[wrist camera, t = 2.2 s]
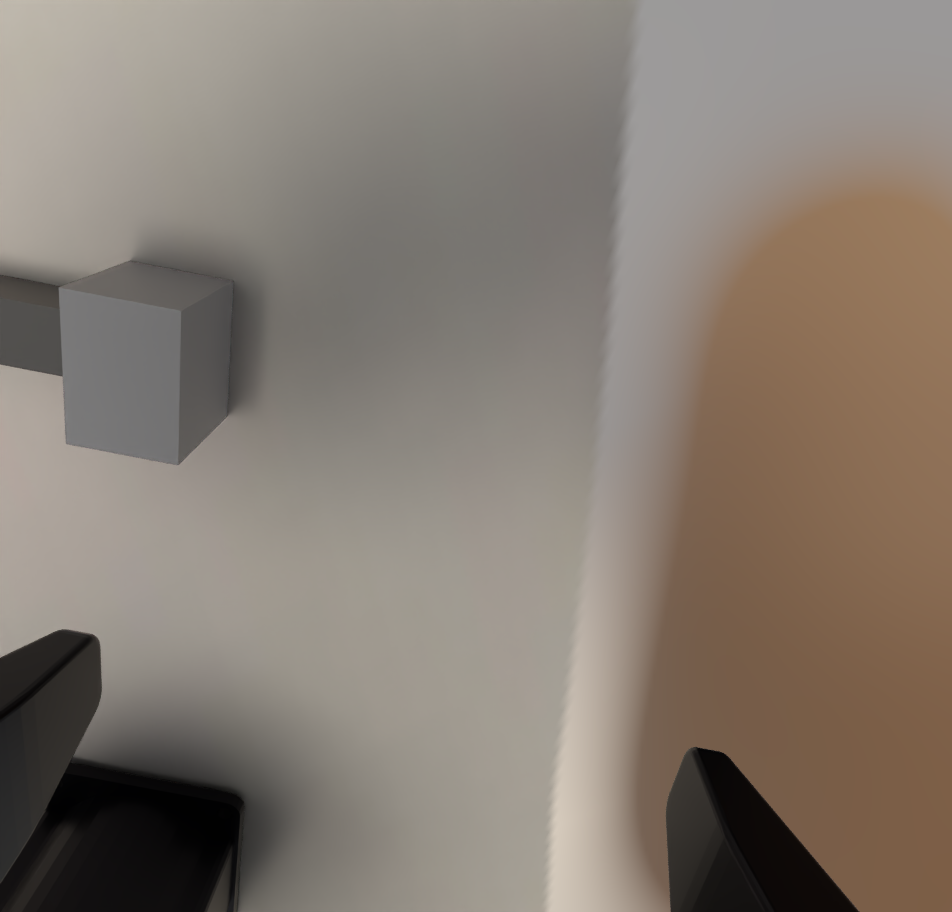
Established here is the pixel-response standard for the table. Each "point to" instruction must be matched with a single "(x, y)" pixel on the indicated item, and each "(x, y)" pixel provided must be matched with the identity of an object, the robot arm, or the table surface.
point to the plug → (127, 354)
